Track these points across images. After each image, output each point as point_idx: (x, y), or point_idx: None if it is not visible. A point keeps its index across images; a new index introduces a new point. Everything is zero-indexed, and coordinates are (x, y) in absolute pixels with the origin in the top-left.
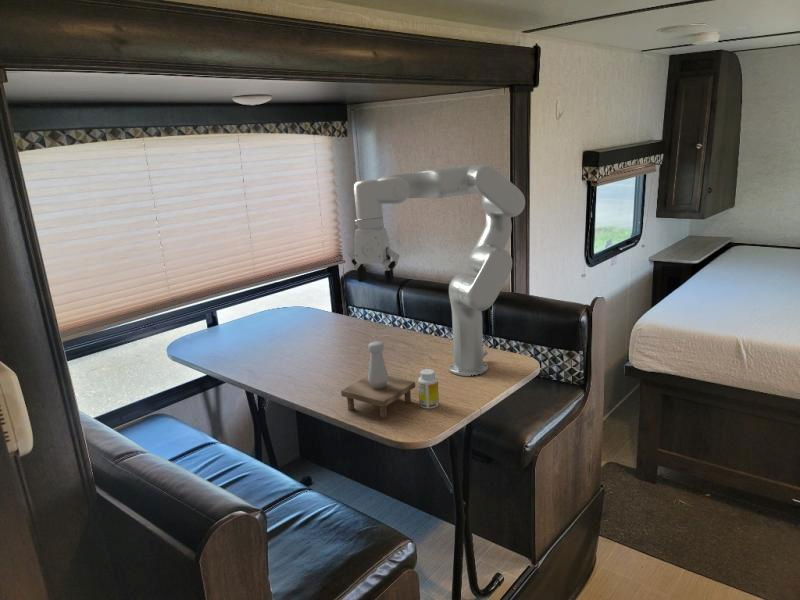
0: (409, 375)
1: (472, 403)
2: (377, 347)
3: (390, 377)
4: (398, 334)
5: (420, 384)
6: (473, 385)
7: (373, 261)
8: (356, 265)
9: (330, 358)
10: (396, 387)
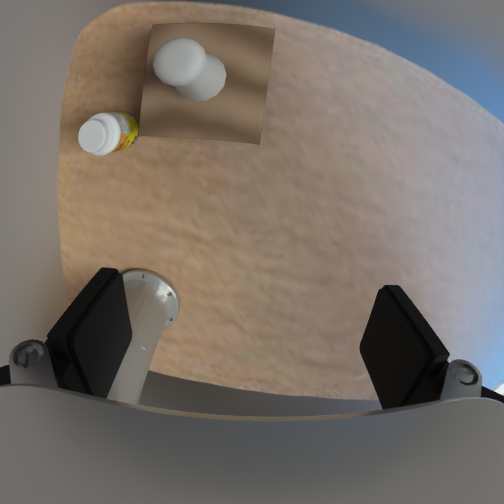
0: (231, 239)
1: (70, 173)
2: (161, 46)
3: (203, 133)
4: (341, 385)
5: (108, 113)
6: (102, 240)
7: (120, 445)
8: (471, 388)
9: (423, 261)
10: (160, 91)
